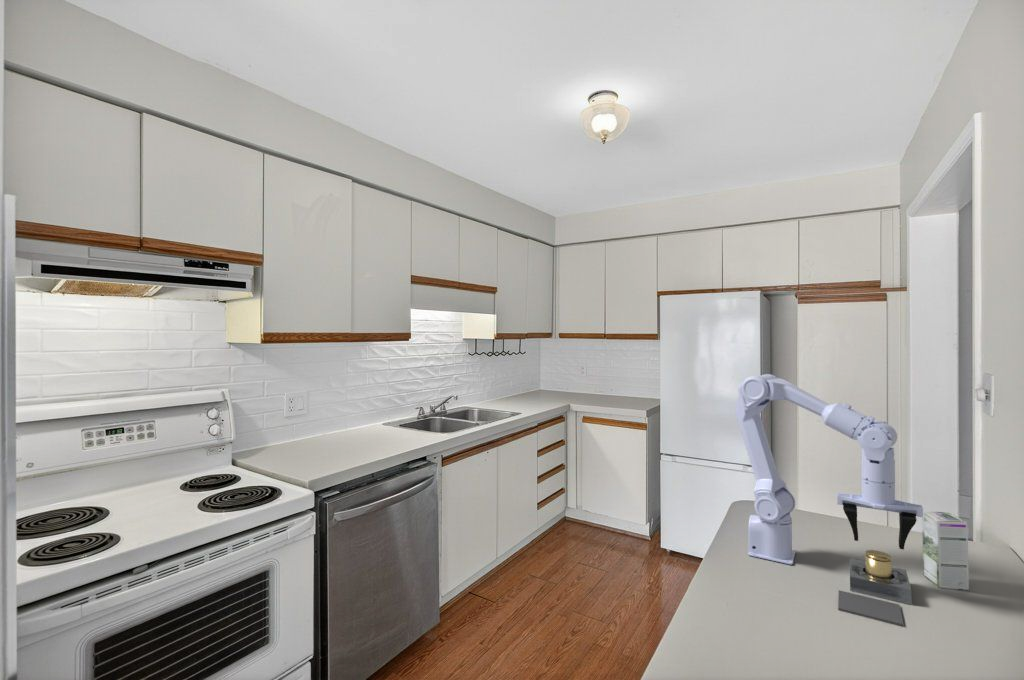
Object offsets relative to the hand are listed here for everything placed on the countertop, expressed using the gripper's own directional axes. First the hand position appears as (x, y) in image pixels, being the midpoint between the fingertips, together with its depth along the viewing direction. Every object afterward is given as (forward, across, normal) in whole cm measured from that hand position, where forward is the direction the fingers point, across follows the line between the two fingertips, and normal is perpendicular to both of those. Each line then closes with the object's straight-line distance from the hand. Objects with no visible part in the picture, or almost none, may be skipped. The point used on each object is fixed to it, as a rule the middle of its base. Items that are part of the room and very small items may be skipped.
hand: (878, 543), depth 104 cm
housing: (+9, 0, 0) cm, 9 cm away
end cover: (+9, 0, 0) cm, 9 cm away
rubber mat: (+9, -2, -11) cm, 15 cm away
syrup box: (+10, +12, +10) cm, 18 cm away
